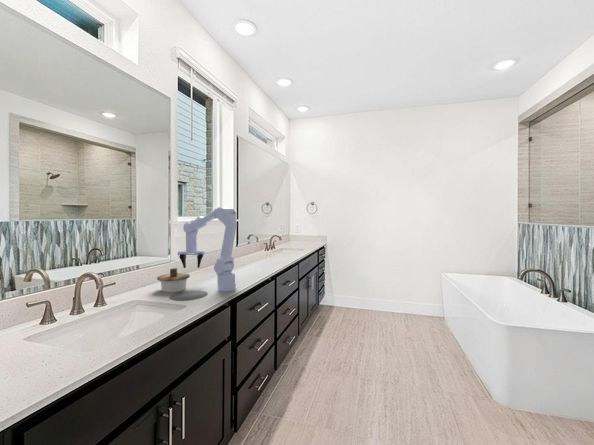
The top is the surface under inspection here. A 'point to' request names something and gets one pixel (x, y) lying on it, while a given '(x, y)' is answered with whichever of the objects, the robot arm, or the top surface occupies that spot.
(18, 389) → the top surface
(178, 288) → the ramekin
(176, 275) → the lid
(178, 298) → the mat
